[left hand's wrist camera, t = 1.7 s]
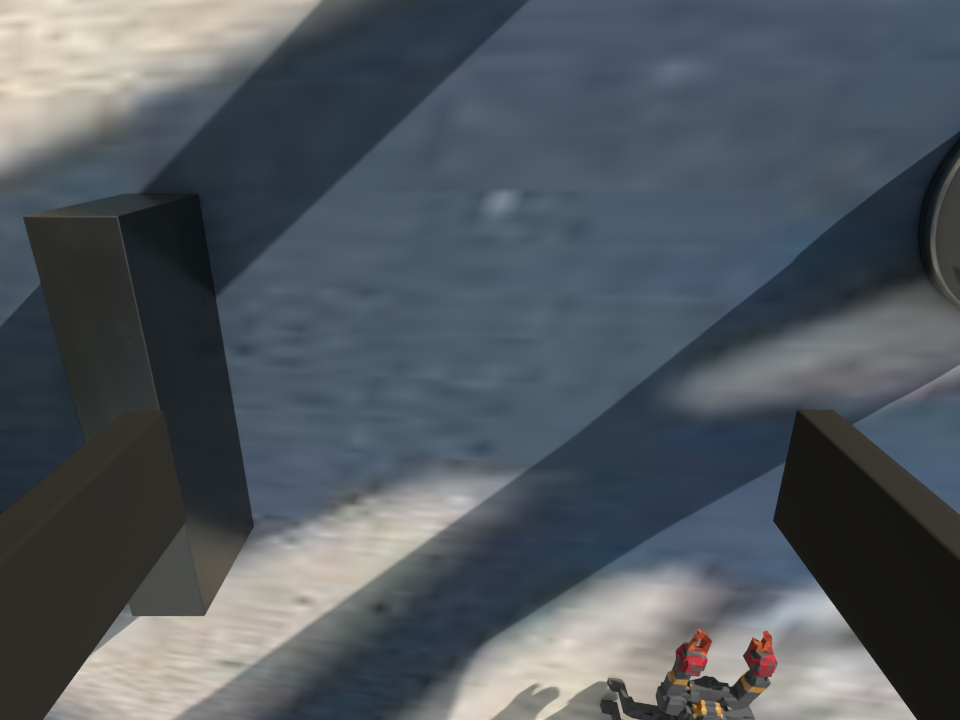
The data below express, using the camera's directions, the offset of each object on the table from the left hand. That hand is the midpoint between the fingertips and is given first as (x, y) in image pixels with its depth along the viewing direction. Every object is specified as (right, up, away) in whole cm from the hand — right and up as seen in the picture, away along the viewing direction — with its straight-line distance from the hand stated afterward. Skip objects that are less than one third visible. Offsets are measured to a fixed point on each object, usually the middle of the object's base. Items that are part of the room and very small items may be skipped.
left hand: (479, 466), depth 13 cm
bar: (-21, +1, +32) cm, 38 cm away
